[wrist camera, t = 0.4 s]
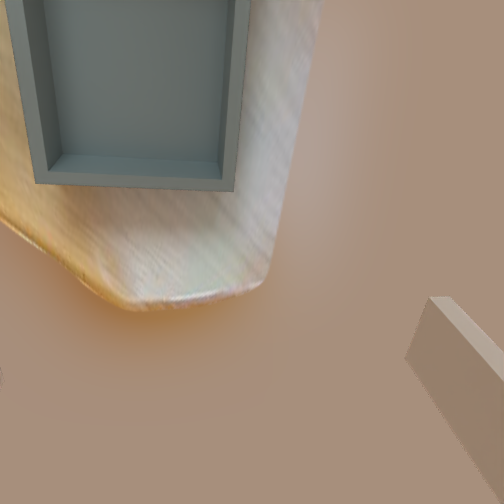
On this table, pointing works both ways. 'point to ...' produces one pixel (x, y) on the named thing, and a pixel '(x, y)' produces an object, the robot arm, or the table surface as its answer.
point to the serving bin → (131, 90)
